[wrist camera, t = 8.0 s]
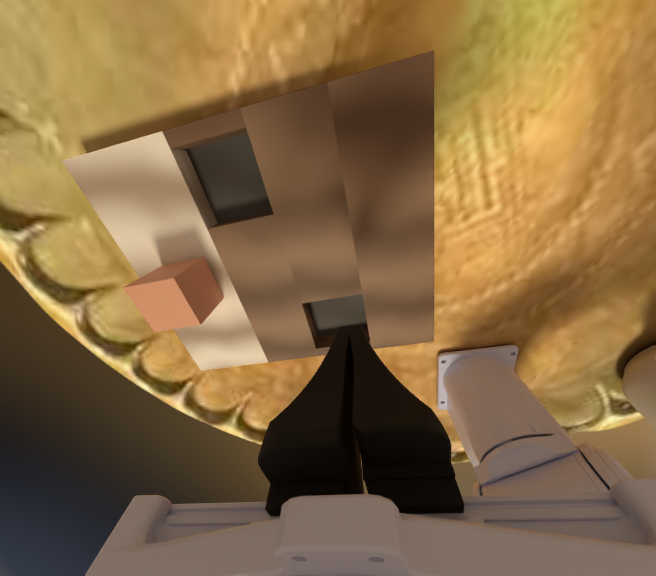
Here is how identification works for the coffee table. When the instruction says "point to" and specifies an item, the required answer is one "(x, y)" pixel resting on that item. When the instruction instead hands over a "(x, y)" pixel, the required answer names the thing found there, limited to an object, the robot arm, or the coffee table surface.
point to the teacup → (642, 383)
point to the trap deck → (288, 214)
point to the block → (176, 294)
